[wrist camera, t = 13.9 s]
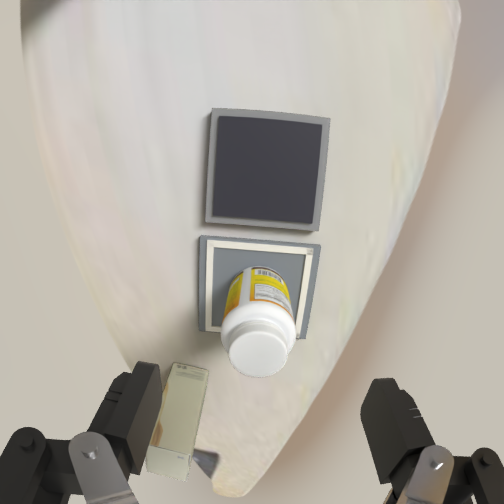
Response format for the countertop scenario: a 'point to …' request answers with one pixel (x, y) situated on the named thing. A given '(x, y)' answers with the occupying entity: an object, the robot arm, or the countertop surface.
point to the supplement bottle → (258, 322)
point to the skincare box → (177, 422)
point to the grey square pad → (249, 255)
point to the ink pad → (266, 168)
